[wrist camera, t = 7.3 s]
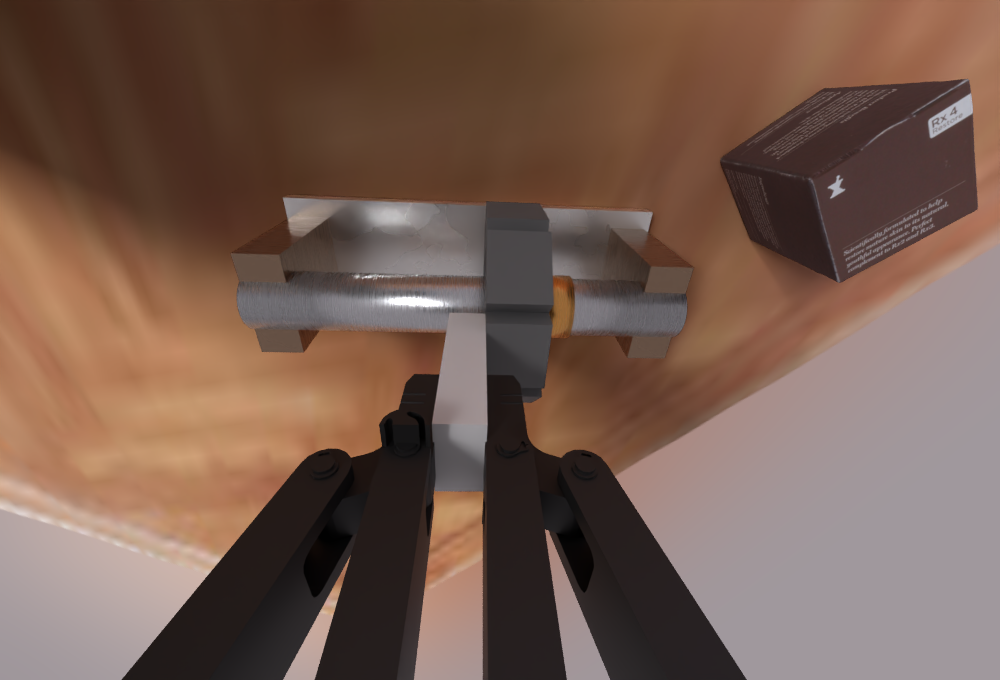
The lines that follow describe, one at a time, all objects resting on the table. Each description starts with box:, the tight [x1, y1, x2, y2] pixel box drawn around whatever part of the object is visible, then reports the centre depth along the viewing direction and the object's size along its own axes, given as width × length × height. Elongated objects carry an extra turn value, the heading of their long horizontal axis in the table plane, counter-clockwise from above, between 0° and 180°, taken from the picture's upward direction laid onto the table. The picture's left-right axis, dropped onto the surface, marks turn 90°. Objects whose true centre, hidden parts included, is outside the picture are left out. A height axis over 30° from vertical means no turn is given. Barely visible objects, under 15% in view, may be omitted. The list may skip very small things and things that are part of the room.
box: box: [720, 79, 978, 283], centre depth 20 cm, size 6×6×7 cm
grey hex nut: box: [483, 201, 554, 403], centre depth 19 cm, size 2×9×9 cm, turn 177°
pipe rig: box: [231, 195, 694, 358], centre depth 21 cm, size 21×7×8 cm, turn 87°
